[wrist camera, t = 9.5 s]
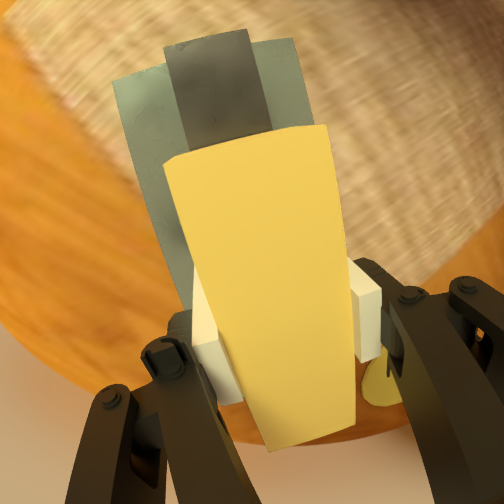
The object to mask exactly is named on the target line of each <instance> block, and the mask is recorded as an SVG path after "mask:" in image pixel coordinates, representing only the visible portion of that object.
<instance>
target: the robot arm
mask: <svg viewBox="0 0 504 504" xmlns="http://www.w3.org/2000/svg"><path fill="white" fill-rule="evenodd" d="M347 259H348V268H349V278H350V290H351V302H352V316H353V332H354V353H355V355H356V356H357V358H358V359H359V361H360V362H361V363H364V362H366V361H369V360H371V359H374V358H376V357H379V356H381V343H382V344H383V345H384V347H385V348H386V349H387V351H388V355H387V370H386V375H387V377H390V370H391V372H392V374H393V377H394V380H395V382H396V385H397V387H398V390H399V393H400V395H401V398H402V401H403V404H404V406H405V409H406V412H407V415H408V418H409V420H410V423H411V426H412V429H413V432H414V435H415V438H416V441H417V444H418V447H419V451H420V453H421V456H422V460H423V463H424V466H425V470H426V473H427V476H428V480H429V484H430V487H431V491H432V495H433V498H434V502H435V504H504V295H503V294H501V293H500V292H498V291H497V290H495V289H494V288H492V287H491V286H489V285H488V284H486V283H484V282H483V281H481V280H480V279H477V278H475V277H471V276H461V277H457V278H455V279H454V280H452V281H451V283H450V285H449V292H447V293H442V294H436V295H429V293H428V292H426V291H425V290H424V289H422V288H419V287H416V286H403V285H402V284H401V283H400V282H398V281H397V280H396V279H395V278H394V277H393V276H391V275H390V274H389V273H387V272H386V271H385V270H384V269H383V268H381V266H379V265H378V264H377V263H376V262H374V261H372V260H369V259H366V258H360V259H357V260H354V261H352V260H350V259H349V258H348V257H347ZM478 328H480V329H481V330H482V331H483V332H484V336H483V338H480V337H479V336H477V331H478ZM167 331H168V332H167V335H166V336H162V337H159V338H157V339H155V340H153V341H151V342H150V343H149V344H148V345H146V346H145V348H144V349H143V351H142V352H141V357H140V358H141V360H142V361H143V363H144V365H145V367H146V368H147V370H148V372H149V373H150V375H151V377H152V378H153V381H152V382H150V383H149V384H147V385H145V386H143V387H140V388H138V389H136V390H134V391H131V392H130V390H129V389H128V387H127V386H125V385H123V384H113V385H110V386H107V387H105V388H104V389H102V390H101V391H100V392H99V393H98V394H97V395H96V396H95V398H94V400H93V402H92V405H91V408H90V411H89V414H88V418H87V421H86V424H85V427H84V431H83V434H82V437H81V441H80V444H79V448H78V451H77V455H76V459H75V463H74V466H73V470H72V474H71V478H70V482H69V487H68V491H67V495H66V500H65V504H165V495H166V472H167V459H168V463H169V467H170V472H171V476H172V480H173V484H174V488H175V491H176V495H177V499H178V502H179V504H262V503H261V501H260V499H259V497H258V495H257V494H256V491H255V489H254V487H253V486H252V483H251V481H250V479H249V477H248V475H247V472H246V470H245V468H244V466H243V464H242V462H241V459H240V457H239V455H238V453H237V450H236V448H235V446H234V444H233V441H232V439H231V437H230V434H229V432H228V430H227V427H226V425H225V422H224V420H223V417H222V415H221V414H220V412H219V410H218V406H217V400H218V401H219V403H220V405H221V407H222V406H226V405H230V404H235V403H239V402H243V401H244V400H243V395H242V389H241V387H240V384H239V382H238V379H237V377H236V374H235V372H234V369H233V367H232V364H231V362H230V359H229V357H228V354H227V352H226V349H225V347H224V344H223V341H222V339H221V336H220V333H219V331H218V328H217V326H216V323H215V321H214V318H213V315H212V313H211V310H210V307H209V304H208V302H207V299H206V296H205V293H204V291H203V288H202V285H201V282H200V279H199V276H198V274H197V271H196V268H195V265H194V283H193V309H189V310H186V311H182V312H178V313H174V315H173V316H172V318H171V319H170V321H169V322H168V329H167Z"/></svg>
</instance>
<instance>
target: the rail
mask: <svg viewBox="0 0 504 504" xmlns="http://www.w3.org/2000/svg"><path fill="white" fill-rule="evenodd" d="M163 50H164V54H165V58H166V62H167V63H164V64H161V65H158V66H154V67H151V68H148V69H145V70H142V71H139V72H137V73H134V74H131V75H128V76H126V77H123V78H120V79H118V80H115V81H113V82H112V84H113V88H114V93H115V97H116V101H117V105H118V109H119V113H120V117H121V121H122V125H123V128H124V132H125V136H126V140H127V143H128V147H129V150H130V154H131V157H132V161H133V164H134V167H135V171H136V174H137V177H138V181H139V184H140V187H141V190H142V193H143V197H144V200H145V203H146V206H147V209H148V212H149V215H150V218H151V221H152V224H153V227H154V230H155V232H156V235H157V238H158V241H159V244H160V247H161V249H162V252H163V255H164V258H165V260H166V263H167V266H168V268H169V271H170V274H171V276H172V279H173V281H174V284H175V287H176V289H177V292H178V294H179V297H180V299H181V302H182V304H183V307H184V309H185V311H186V310H189V309H193V283H194V262H193V259H192V256H191V253H190V250H189V247H188V244H187V241H186V238H185V235H184V232H183V229H182V226H181V223H180V220H179V216H178V213H177V210H176V207H175V204H174V200H173V197H172V194H171V191H170V187H169V184H168V181H167V177H166V174H165V170H164V167H163V164H164V163H166V162H167V161H169V160H170V159H171V158H173V157H174V156H177V155H181V154H184V153H187V152H191V151H194V150H198V149H201V148H205V147H208V146H212V145H216V144H220V143H223V142H227V141H231V140H235V139H239V138H243V137H247V136H252V135H256V134H260V133H265V132H269V131H274V130H279V129H283V128H288V127H295V126H309V125H314V121H313V117H312V112H311V108H310V104H309V100H308V95H307V91H306V87H305V83H304V79H303V75H302V71H301V68H300V64H299V60H298V56H297V53H296V49H295V46H294V42H293V39H292V38H284V39H276V40H268V41H261V42H255V43H251V42H250V38H249V35H248V31H247V29H242V30H236V31H231V32H225V33H220V34H216V35H211V36H206V37H202V38H198V39H194V40H190V41H186V42H182V43H178V44H175V45H171V46H168V47H164V48H163ZM242 395H243V398H245V397H244V394H243V392H242Z"/></svg>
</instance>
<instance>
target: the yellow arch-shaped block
mask: <svg viewBox="0 0 504 504" xmlns="http://www.w3.org/2000/svg"><path fill="white" fill-rule="evenodd" d="M163 167H164V170H165V174H166V177H167V181H168V184H169V187H170V191H171V194H172V197H173V200H174V204H175V207H176V210H177V213H178V216H179V220H180V223H181V226H182V229H183V232H184V235H185V238H186V241H187V244H188V247H189V250H190V253H191V256H192V259H193V262H194V265H195V268H196V271H197V274H198V276H199V279H200V282H201V285H202V288H203V291H204V293H205V296H206V299H207V302H208V304H209V307H210V310H211V313H212V315H213V318H214V321H215V323H216V326H217V328H218V331H219V333H220V336H221V339H222V341H223V344H224V347H225V349H226V352H227V354H228V357H229V359H230V362H231V364H232V367H233V369H234V372H235V374H236V377H237V379H238V382H239V384H240V387H241V389H242V392H243V394H244V397H245V399H246V402H247V404H248V406H249V409H250V411H251V413H252V416H253V418H254V420H255V423H256V425H257V427H258V429H259V432H260V434H261V436H262V438H263V441H264V443H265V445H266V447H267V449H268V452H272V451H276V450H279V449H283V448H287V447H290V446H294V445H297V444H300V443H304V442H307V441H310V440H313V439H316V438H319V437H322V436H325V435H328V434H331V433H334V432H337V431H339V430H342V429H345V428H347V427H350V426H352V425H355V418H356V388H355V353H354V332H353V316H352V302H351V290H350V278H349V268H348V259H347V250H346V241H345V233H344V226H343V218H342V211H341V205H340V198H339V192H338V185H337V179H336V173H335V168H334V162H333V157H332V151H331V146H330V141H329V136H328V131H327V126H326V125H309V126H295V127H288V128H283V129H279V130H274V131H269V132H265V133H260V134H256V135H252V136H247V137H243V138H239V139H235V140H231V141H227V142H223V143H220V144H216V145H212V146H208V147H205V148H201V149H198V150H194V151H191V152H187V153H184V154H181V155H177V156H174V157H173V158H171V159H170V160H169V161H167V162H166V163H164V164H163Z"/></svg>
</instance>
